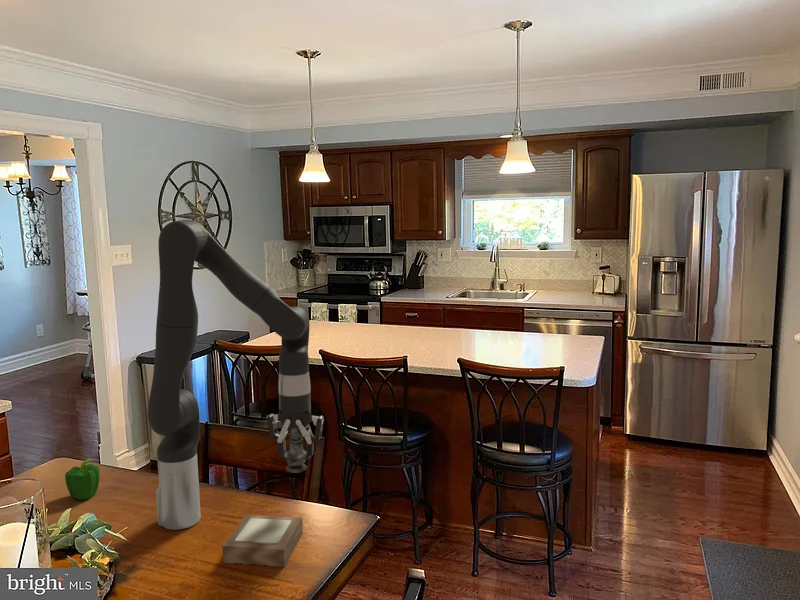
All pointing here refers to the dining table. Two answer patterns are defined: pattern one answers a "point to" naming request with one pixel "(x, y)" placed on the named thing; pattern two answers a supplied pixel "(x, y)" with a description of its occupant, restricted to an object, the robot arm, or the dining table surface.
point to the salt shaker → (295, 453)
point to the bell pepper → (83, 480)
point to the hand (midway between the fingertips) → (296, 456)
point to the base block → (263, 540)
